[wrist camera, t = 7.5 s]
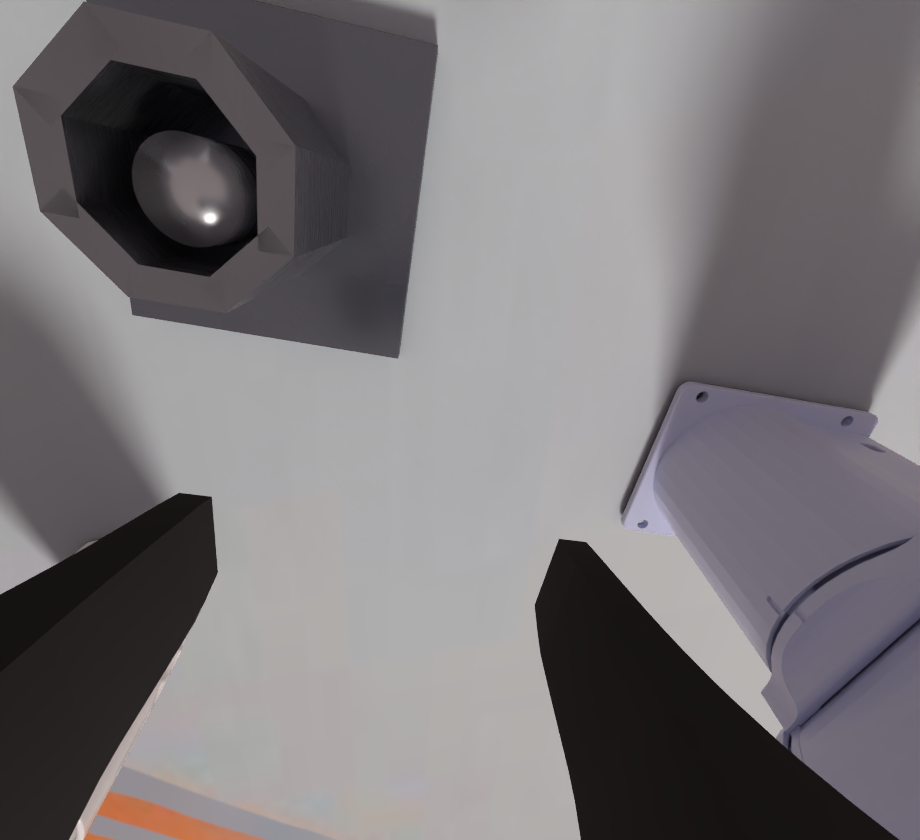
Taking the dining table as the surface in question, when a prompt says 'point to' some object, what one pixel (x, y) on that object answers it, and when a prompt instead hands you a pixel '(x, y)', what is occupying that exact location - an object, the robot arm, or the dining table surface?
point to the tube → (174, 109)
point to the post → (356, 136)
